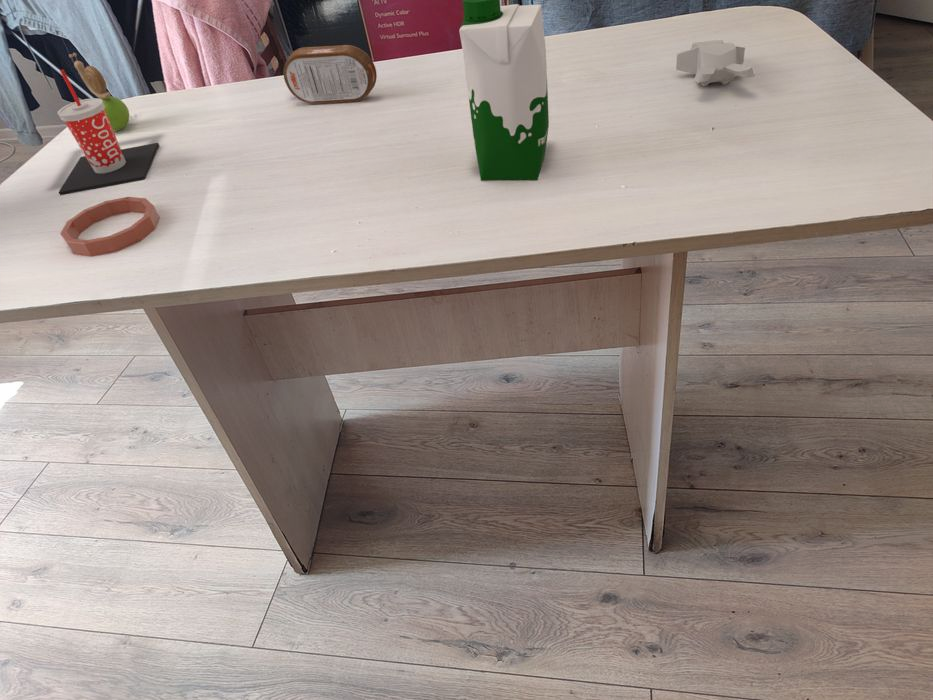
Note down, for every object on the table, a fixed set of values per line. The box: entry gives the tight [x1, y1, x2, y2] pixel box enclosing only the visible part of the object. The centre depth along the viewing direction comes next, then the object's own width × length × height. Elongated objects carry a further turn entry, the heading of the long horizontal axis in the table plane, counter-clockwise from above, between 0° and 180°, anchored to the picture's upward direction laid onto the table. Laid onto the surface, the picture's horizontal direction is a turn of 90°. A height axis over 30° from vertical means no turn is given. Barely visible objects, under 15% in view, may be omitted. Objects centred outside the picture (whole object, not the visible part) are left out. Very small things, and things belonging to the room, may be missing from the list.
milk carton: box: [458, 0, 550, 182], centre depth 79 cm, size 9×9×20 cm
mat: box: [58, 142, 160, 196], centre depth 100 cm, size 12×12×1 cm
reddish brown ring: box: [59, 196, 160, 258], centre depth 83 cm, size 11×11×3 cm
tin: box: [282, 44, 378, 105], centre depth 108 cm, size 15×3×8 cm, turn 80°
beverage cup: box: [57, 69, 126, 173], centre depth 96 cm, size 6×6×14 cm
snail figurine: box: [68, 52, 130, 132], centre depth 109 cm, size 5×6×12 cm
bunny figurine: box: [675, 39, 755, 87], centre depth 97 cm, size 10×5×15 cm
